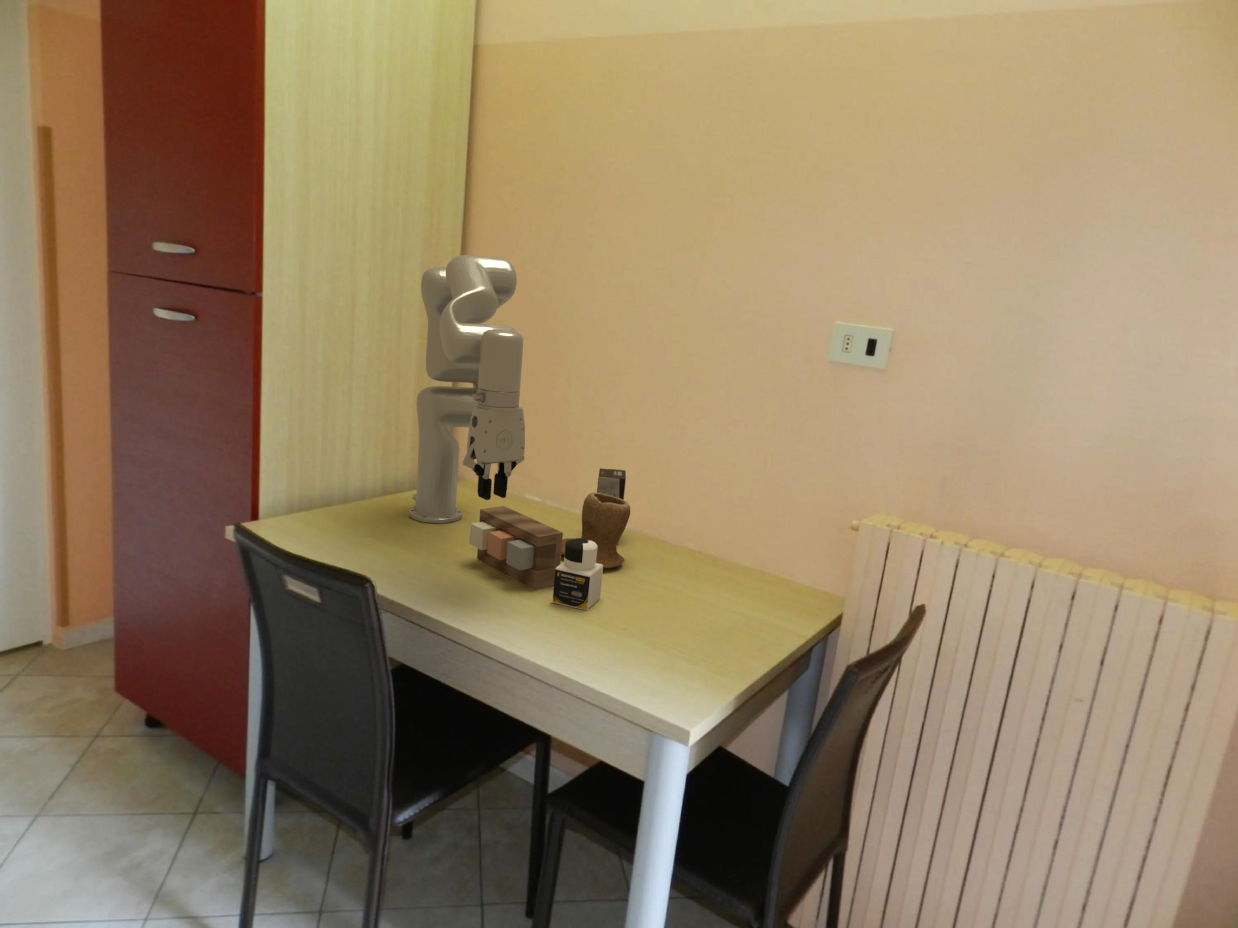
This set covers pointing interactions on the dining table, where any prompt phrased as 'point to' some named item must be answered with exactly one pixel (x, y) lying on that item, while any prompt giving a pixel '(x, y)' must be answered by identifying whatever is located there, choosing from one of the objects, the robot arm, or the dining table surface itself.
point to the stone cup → (604, 526)
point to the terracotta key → (499, 543)
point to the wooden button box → (532, 532)
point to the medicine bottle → (578, 575)
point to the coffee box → (612, 483)
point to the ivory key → (480, 534)
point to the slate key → (520, 554)
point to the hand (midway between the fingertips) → (491, 496)
